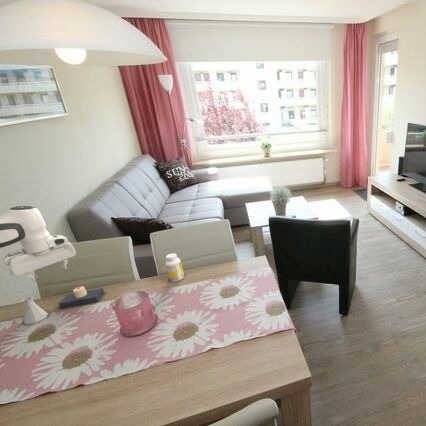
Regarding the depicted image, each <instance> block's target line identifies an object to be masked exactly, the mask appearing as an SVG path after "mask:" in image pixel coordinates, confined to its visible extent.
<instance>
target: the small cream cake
mask: <svg viewBox="0 0 426 426" xmlns="http://www.w3.org/2000/svg"><path fill="white" fill-rule="evenodd" d="M86 291H87V290H86V288H85V286H83V285H79V286H77V287H75V288H74V289H72V293H74V295H75V297H76V298H81V297H84V296H85V295H86V294H87V293H86Z"/></svg>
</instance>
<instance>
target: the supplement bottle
mask: <svg viewBox="0 0 426 426" xmlns="http://www.w3.org/2000/svg"><path fill="white" fill-rule="evenodd" d="M165 260H166V261H165V265H164V266H165V268H166V271H167V275H168V278H169V281H170V282H178V281H181V280H182V279H184V278H185V272H184V269H183V265H182V261H181V259H180V258H179V257H178V255H177V253H169V254H167V255H166V256H165Z"/></svg>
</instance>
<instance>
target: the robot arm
mask: <svg viewBox="0 0 426 426" xmlns="http://www.w3.org/2000/svg"><path fill="white" fill-rule="evenodd" d="M16 243H20V246H21V248H22V249H19V250H16V251H14V252H10V253H7V254H6V255H5V256H4V257H3V262H4V264H5V265H6V266H8V270H9V272H10V274H11V276H13V277H16V278H17V277H20V276H24V275H25V276H27V277H29V278H31V280H32V282H36V281H39V277H38V276H37V275H36V274H35V275H32V272H34V271H37V270H40V269H42V268H46V267H48V266H51V265H54V264H57V263H60V262H62V265H60V269H61V271H66V270H67V269H68V267H67V264H68V262H69V260H68V259H71V258H74V257H76V255H77V251H76V249H75V247H74V245H73V244H72V243H71V242H69V240H68V238H67V237H66V236H65V235H61V234H56V235H55V234H54V235H51V234H50V232H49V231H48V230H47V224H46V222H45V219H44V217H43V215H42V213H41V212H40V210H39V209H38V208H36V207H34V206H31V205H17V206H12V207H10V208H8V209H7V211H5V212H4V213H3V214H2V215H0V249H2V248H5V247H9V246H11V245H14V244H16Z"/></svg>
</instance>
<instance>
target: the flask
mask: <svg viewBox="0 0 426 426" xmlns="http://www.w3.org/2000/svg"><path fill="white" fill-rule="evenodd" d="M21 303H23V305H24V317H23V324H25V325H32V324H37V323H38V322H41V321H42V320H44V319H45V318H46V317H48V315H49V313H48V312H47V311H45V310H44V309H43V308H41V307H40V306H39V305H38V304H36V302H35V301H34V297H33V296H26V297H25V298H23V299H22V300H21Z"/></svg>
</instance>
